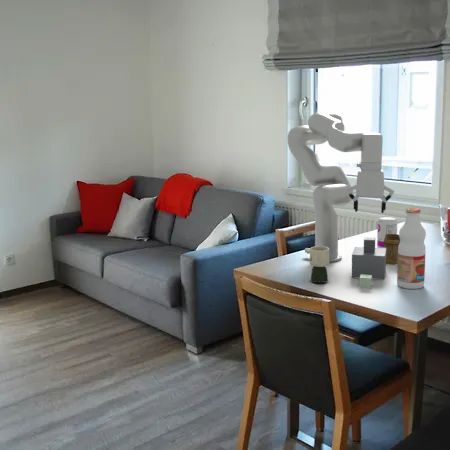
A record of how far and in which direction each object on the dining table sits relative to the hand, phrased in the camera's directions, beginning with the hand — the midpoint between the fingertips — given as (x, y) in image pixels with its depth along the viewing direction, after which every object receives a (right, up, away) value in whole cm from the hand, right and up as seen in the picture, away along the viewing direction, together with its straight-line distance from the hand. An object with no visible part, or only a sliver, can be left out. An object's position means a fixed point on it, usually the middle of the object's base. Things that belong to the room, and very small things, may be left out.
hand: (369, 211), depth 228 cm
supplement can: (+16, -17, +36) cm, 43 cm away
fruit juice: (+12, -27, -10) cm, 31 cm away
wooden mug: (+16, -21, +19) cm, 33 cm away
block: (-4, -27, -10) cm, 29 cm away
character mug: (-19, -27, -3) cm, 33 cm away
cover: (+1, -24, +5) cm, 24 cm away
